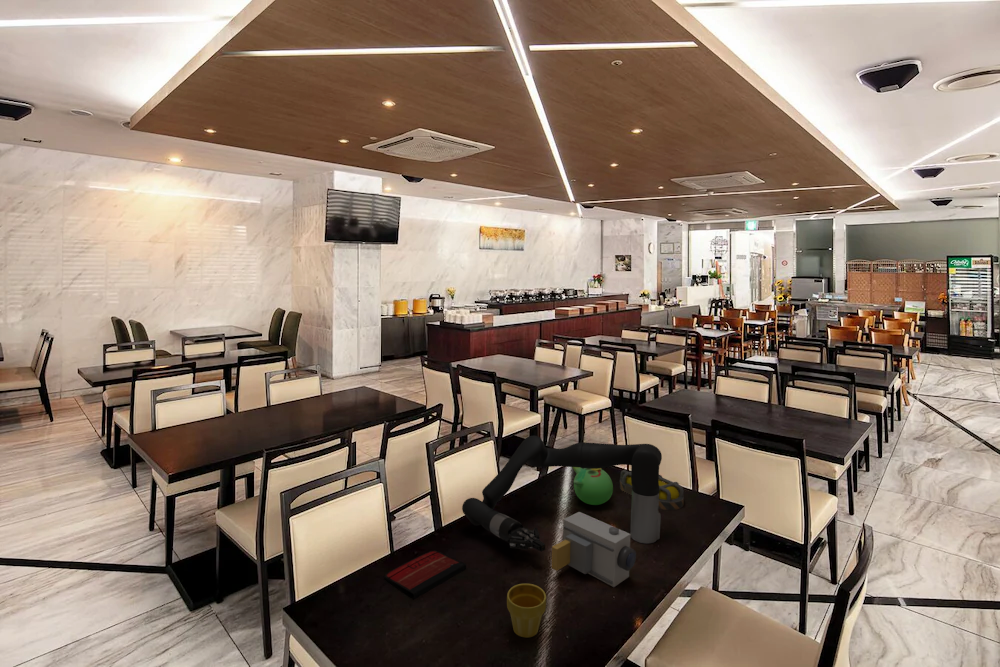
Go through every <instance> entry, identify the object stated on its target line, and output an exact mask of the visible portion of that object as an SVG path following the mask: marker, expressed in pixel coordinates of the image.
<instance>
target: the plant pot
mask: <svg viewBox="0 0 1000 667" xmlns="http://www.w3.org/2000/svg"><path fill="white" fill-rule="evenodd" d="M546 607H547V593H546V592H545V591H544V590H543V589H542V588H541V587H540V586H538V585H536V584H532V583H519V584H515V585H513V586H512V587H510V589H509V590H508V591H507V594H506V608H507V611H508V612H509V614H510V617H511V618H510V620H511V624H512V628H513V629H512V630H513V632H514V633H515V634H516V636H518V637H522V638H532V637H535V636H536V635H537V634H538V632H539V630H540V629H539V628H540V625H541V620H542V616H543V614H544V613H545V611H546V610H547V608H546Z"/></svg>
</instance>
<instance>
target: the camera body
mask: <svg viewBox="0 0 1000 667" xmlns="http://www.w3.org/2000/svg"><path fill="white" fill-rule="evenodd" d="M562 520H563V523H562V524H563V525H562V526H563V528H562V530H563V531H562V532H563V533H562V535H563V537H562V541H564V540H566V536H568V535H569V534H571V533H573V534H575V535H577V536H579V537H581V538H583V539H585V540H588V541H590V542H592V570H591V571H590V572H588V573H587V574H588V575H589V576H592V577H594V578H596V579H598V580H600V581H601V582H603V583H605V584H607V585H608V586H611V587H613V588H615V587H616V586H618V585H619V584H621V583H622V582H623V581H625V580H627V579H628V578H629V577H630V570H631V569H633V567H634V565H635V564H636V560H637V551H636V550H635V549H634V548H632V547H631V536H630V535H631V534H630V533H629V532H627V531H624V530H623V529H620V528H618V527H616V526H613V525H611V524H609V523H606V522H604V521H602V520H600V519H599V520H598V519H597V518H594V517H592V516H590V515H588V514H585V513H583V512H581V511H578V512H576V513H574V514H572V515H570V516H567V517H565V518H563V519H562Z"/></svg>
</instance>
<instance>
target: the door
mask: <svg viewBox="0 0 1000 667" xmlns="http://www.w3.org/2000/svg"><path fill="white" fill-rule="evenodd" d="M566 566H569V567H571V568H573V569H575V570H577V571H578V572H580V573H582V574H584V575H586V574H588V572H590V571H591V570H592V542H590V541H588V540H585V539H583V538H581V537H579V536H577V535H575V534H573V533H571V534H569V535H568V536H566V540H564V541H563V540H562V541H560V542H558V543H556V544H555V545H553V546H552V547H551V569H552V570H554V571H556V572H557V571H559V570H560V569H563V568H564V567H566Z"/></svg>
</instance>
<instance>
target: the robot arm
mask: <svg viewBox="0 0 1000 667" xmlns="http://www.w3.org/2000/svg"><path fill="white" fill-rule="evenodd" d="M662 458H663V457H662V452H661V450H660V448H658V447H657V446H656V445H653V444H651V443H637V444H636V443H635V444H633V443H632V444H614V443H599V442H577V443H574V444H570V445H569V446H567V447H563V448H550V447H546V446H545V443H544V441H543V439H542V438H541V437H540V436H538V435H530V436H527V437H526V438H525V439H523V441H522V442H521V443H520V444H519V446H518V447H517V448H516V449H515V451H514V453H513V454H512V455H511V457H510V458H509V460H508V461H507V462H506V463H505V465H504V466H503V468H502V469H501V470H500V471H499V472H498V474H496V476H495V477H494V478H492V480H491V481H490V482H489V483H488V484H487V485H486V486H485V487H484V488H483V489H482V491H481V494H482V497H483V499H482V500H480V499H479V498H475V497H469V498H467V499H466V500H464V501H463V504H462V506H461V510H462V513H463V515H465V517H466V519H468V520H469V522H470V523H471V524H472V525H473V526H482V528H484V529H485V530H486V531H488V532H490V533H492V534H493V535H494V536H496V537H497V538H499V539H501V540H503V541H505V542H506V543H508V544H509V548H510V549H515V550H517V549H519V550H528V549H529V548H530V549H534V550H537V551H539V552H544V551H546V543H545V542H543V541H541V540H540V539H541V538H540V532H539V530H538V528H537V527H533V529H530V528H527V527H525V526H524V525H523V524H522V523H521V522H520V521H518V520H516V519H515V518H512V517H510V516H508V515H506V514H504V513H501V512H499V511H497V510H495V507H496V505H497V503H499V501H500V500H501V499H502V498H503V497H504V496H505V495H506V494H507V493H508V492H509V491H510V490H511V488H512V486H513V485H514V482H515V480H516V479H517V476H518V474H519V472H520V471H521V469H522V468H523V466H525V464H526V463H527V464H528V465H529V466H530V467H534V468H545V467H547V468H548V467H563V468H565V467H566V468H572V467H580V468H582V469H584V468H592V469H598V468H602V469H605V468H611V467H616V466H619V465H620V466H623V465H624V466H630V467H631V468H630V472H631V483H632V496H631V502H630V503H631V505H630V506H631V507H630V508H631V509H630V530H629V531H630V533H629V534H631V535H630V539H632V540H633V541H635V542H637V543H640V544H653V543H655V542H656V541H658V540H660V535H661V519H662V517H661V512H659V508H658V506H659V475H660V465H661V463H662Z"/></svg>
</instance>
